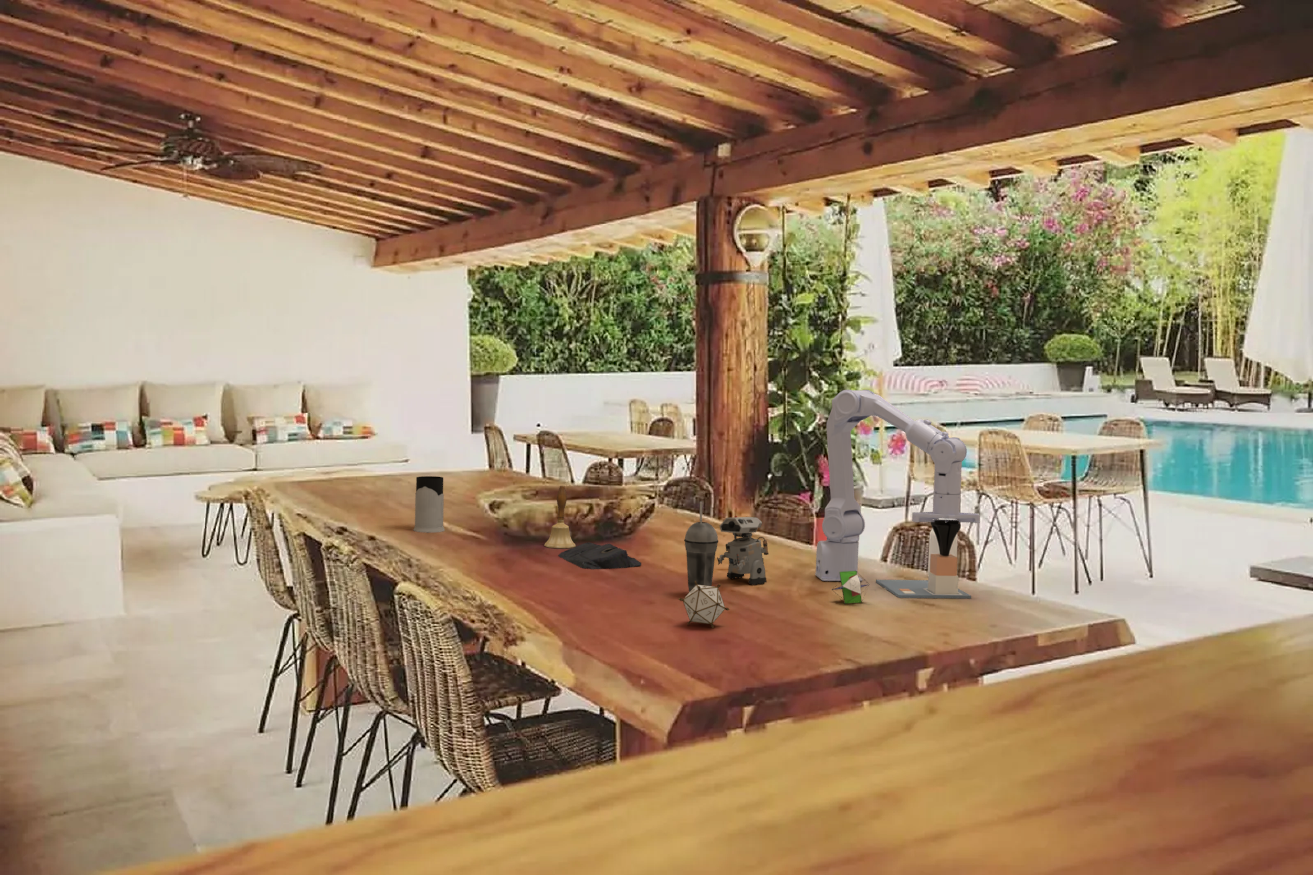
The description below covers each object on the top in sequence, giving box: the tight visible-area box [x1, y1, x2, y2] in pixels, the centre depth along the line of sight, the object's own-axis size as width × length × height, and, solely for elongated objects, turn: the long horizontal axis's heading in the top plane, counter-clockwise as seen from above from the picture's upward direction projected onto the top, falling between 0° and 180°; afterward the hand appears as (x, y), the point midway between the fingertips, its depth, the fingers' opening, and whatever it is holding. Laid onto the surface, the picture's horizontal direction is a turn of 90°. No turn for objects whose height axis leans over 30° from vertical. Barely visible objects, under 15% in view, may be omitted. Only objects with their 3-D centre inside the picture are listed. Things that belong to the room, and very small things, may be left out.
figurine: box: [716, 515, 769, 586], centre depth 265 cm, size 9×12×15 cm
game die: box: [678, 581, 731, 629], centre depth 220 cm, size 9×8×10 cm
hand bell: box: [543, 485, 577, 549], centre depth 310 cm, size 8×8×16 cm
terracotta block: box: [930, 554, 958, 576], centre depth 257 cm, size 4×4×4 cm
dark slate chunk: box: [558, 541, 642, 570], centre depth 288 cm, size 15×22×5 cm
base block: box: [927, 572, 959, 594], centre depth 257 cm, size 5×5×4 cm
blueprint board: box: [875, 579, 972, 600], centre depth 262 cm, size 16×18×1 cm
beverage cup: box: [684, 501, 719, 593], centre depth 249 cm, size 7×7×20 cm
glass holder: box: [413, 475, 446, 534], centre depth 334 cm, size 9×14×15 cm, turn 171°
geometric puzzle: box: [831, 570, 871, 605], centre depth 246 cm, size 7×7×8 cm
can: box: [927, 527, 958, 575], centre depth 278 cm, size 6×6×12 cm
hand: (944, 555), depth 257 cm, fingers closed
